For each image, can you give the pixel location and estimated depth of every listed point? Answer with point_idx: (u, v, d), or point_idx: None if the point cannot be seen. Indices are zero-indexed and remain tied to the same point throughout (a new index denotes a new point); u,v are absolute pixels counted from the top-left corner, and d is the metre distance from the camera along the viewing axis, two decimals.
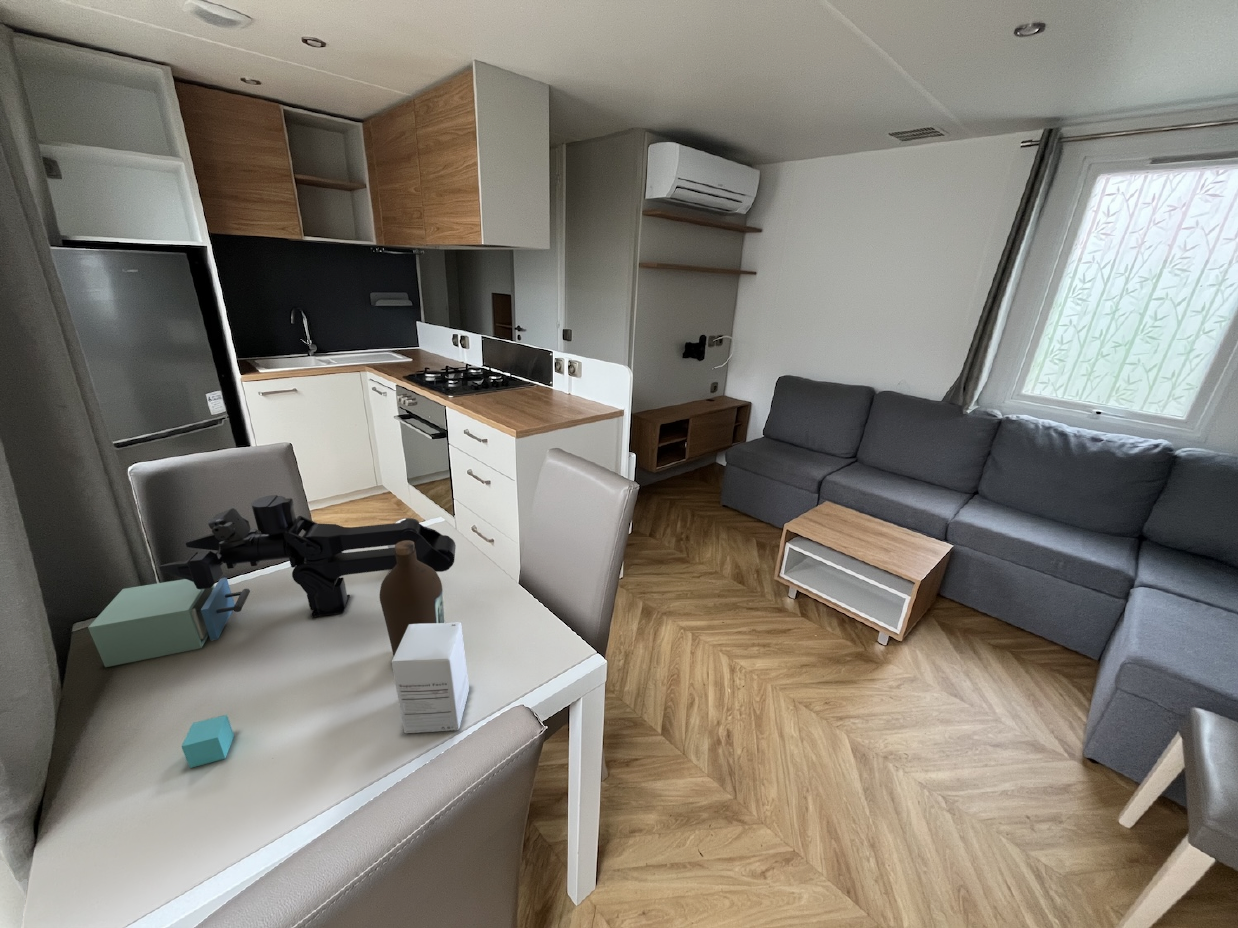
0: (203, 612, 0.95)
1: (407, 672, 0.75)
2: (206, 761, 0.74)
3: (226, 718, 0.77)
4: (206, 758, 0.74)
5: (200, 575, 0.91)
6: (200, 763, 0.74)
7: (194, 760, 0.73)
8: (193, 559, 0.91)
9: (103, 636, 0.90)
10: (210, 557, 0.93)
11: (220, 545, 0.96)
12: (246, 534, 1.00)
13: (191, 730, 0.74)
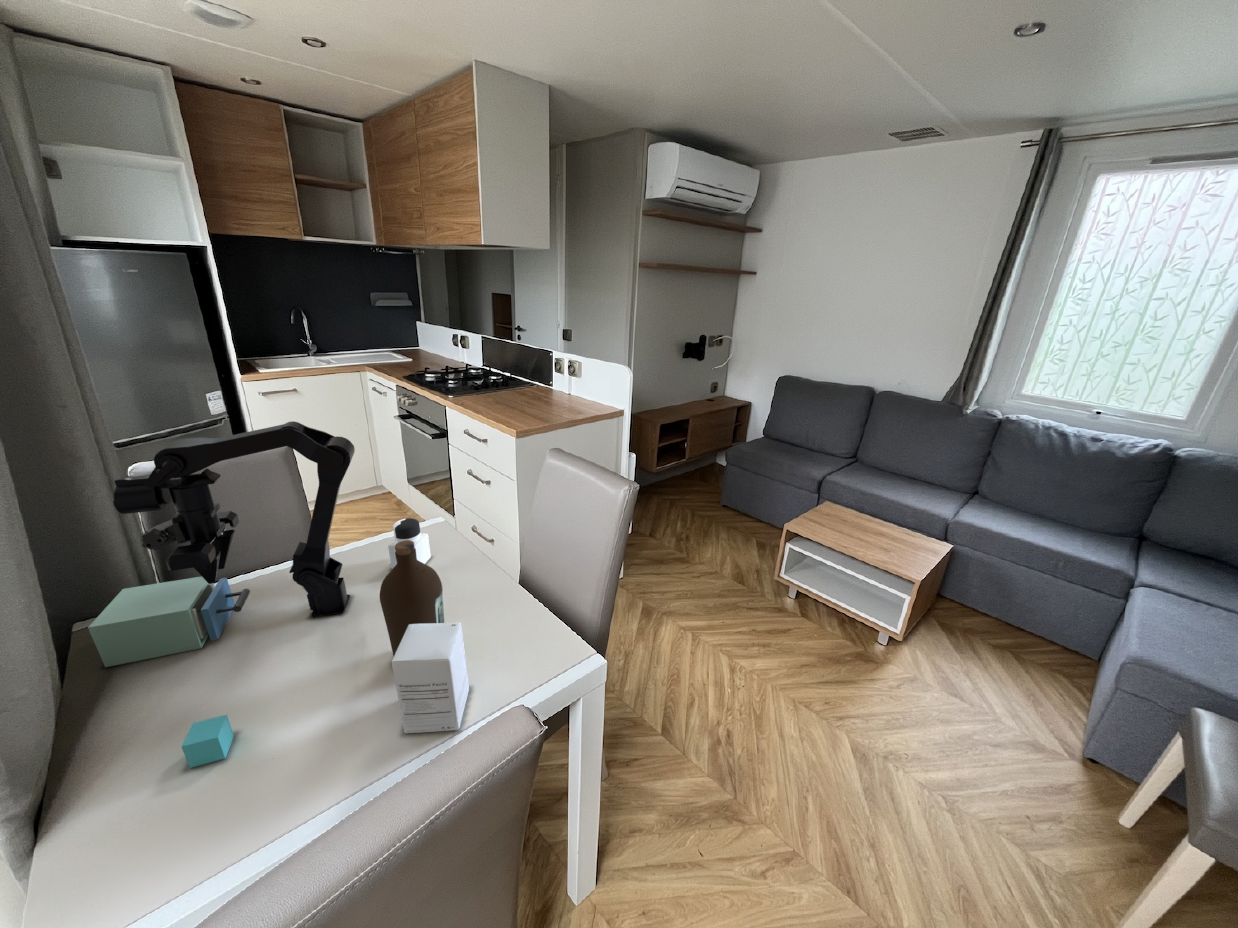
0: (203, 612, 0.95)
1: (407, 672, 0.75)
2: (206, 761, 0.74)
3: (226, 718, 0.77)
4: (206, 758, 0.74)
5: (185, 562, 0.88)
6: (200, 763, 0.74)
7: (194, 760, 0.73)
8: None
9: (103, 636, 0.90)
10: None
11: (180, 542, 0.92)
12: None
13: (191, 730, 0.74)
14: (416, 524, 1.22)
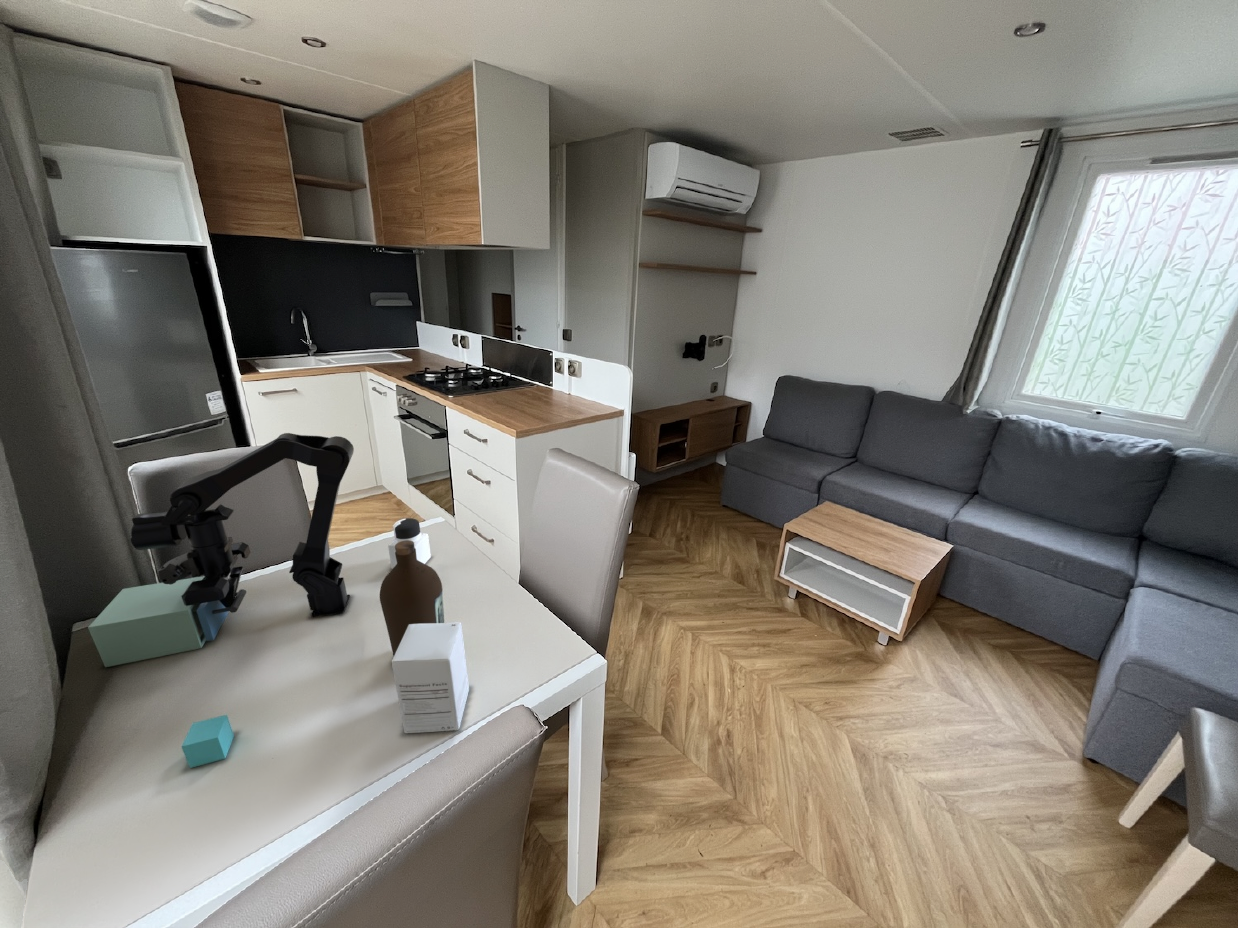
0: (198, 613, 0.95)
1: (407, 672, 0.75)
2: (206, 761, 0.74)
3: (226, 718, 0.77)
4: (206, 758, 0.74)
5: (200, 597, 0.91)
6: (200, 763, 0.74)
7: (194, 760, 0.73)
8: None
9: (103, 636, 0.90)
10: (188, 587, 0.92)
11: (195, 576, 0.95)
12: None
13: (191, 730, 0.74)
14: (416, 524, 1.22)
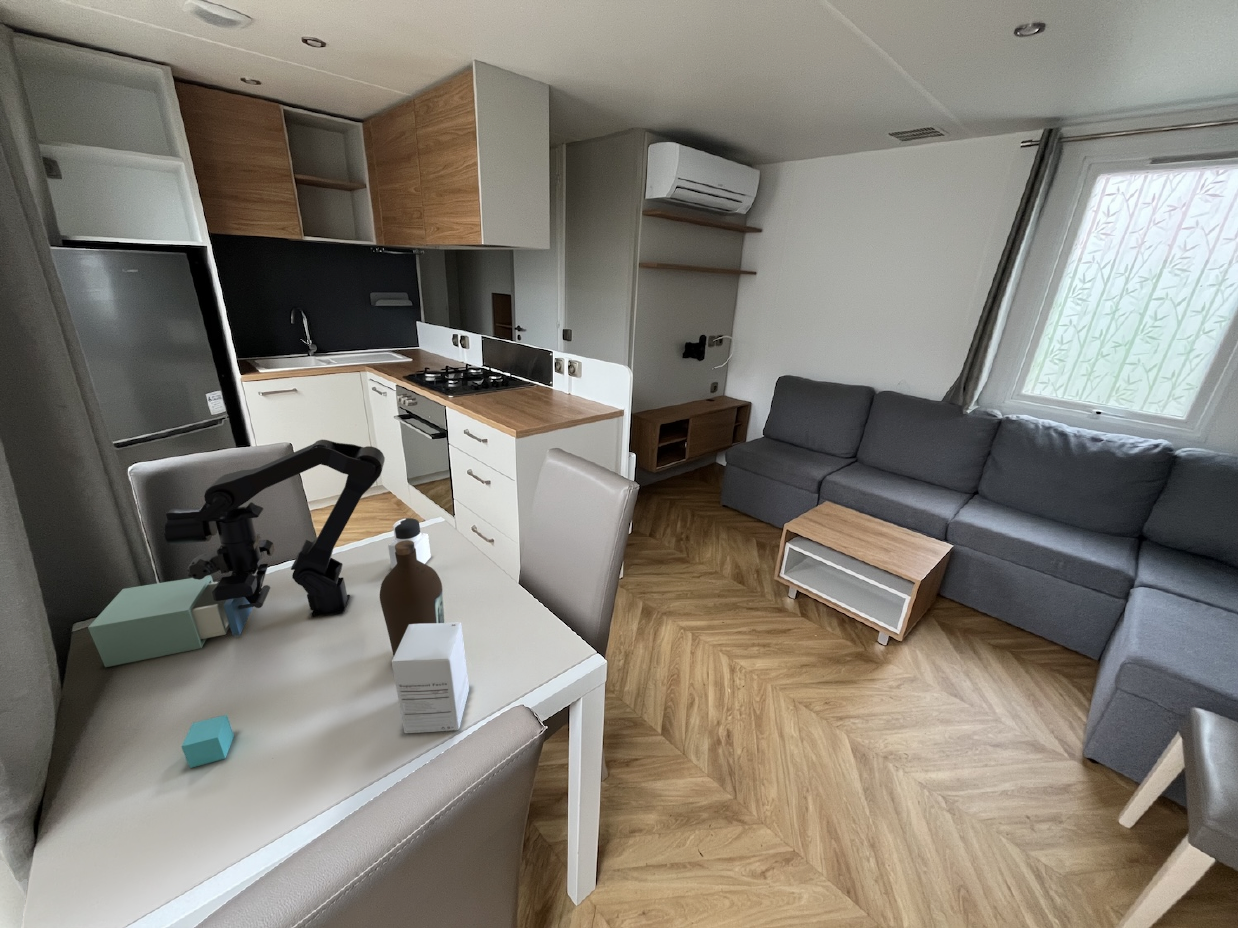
0: (226, 608, 0.97)
1: (407, 672, 0.75)
2: (206, 761, 0.74)
3: (226, 718, 0.77)
4: (206, 758, 0.74)
5: (230, 593, 0.93)
6: (200, 763, 0.74)
7: (194, 760, 0.73)
8: None
9: (103, 636, 0.90)
10: (217, 583, 0.93)
11: (223, 572, 0.97)
12: None
13: (191, 730, 0.74)
14: (416, 524, 1.22)
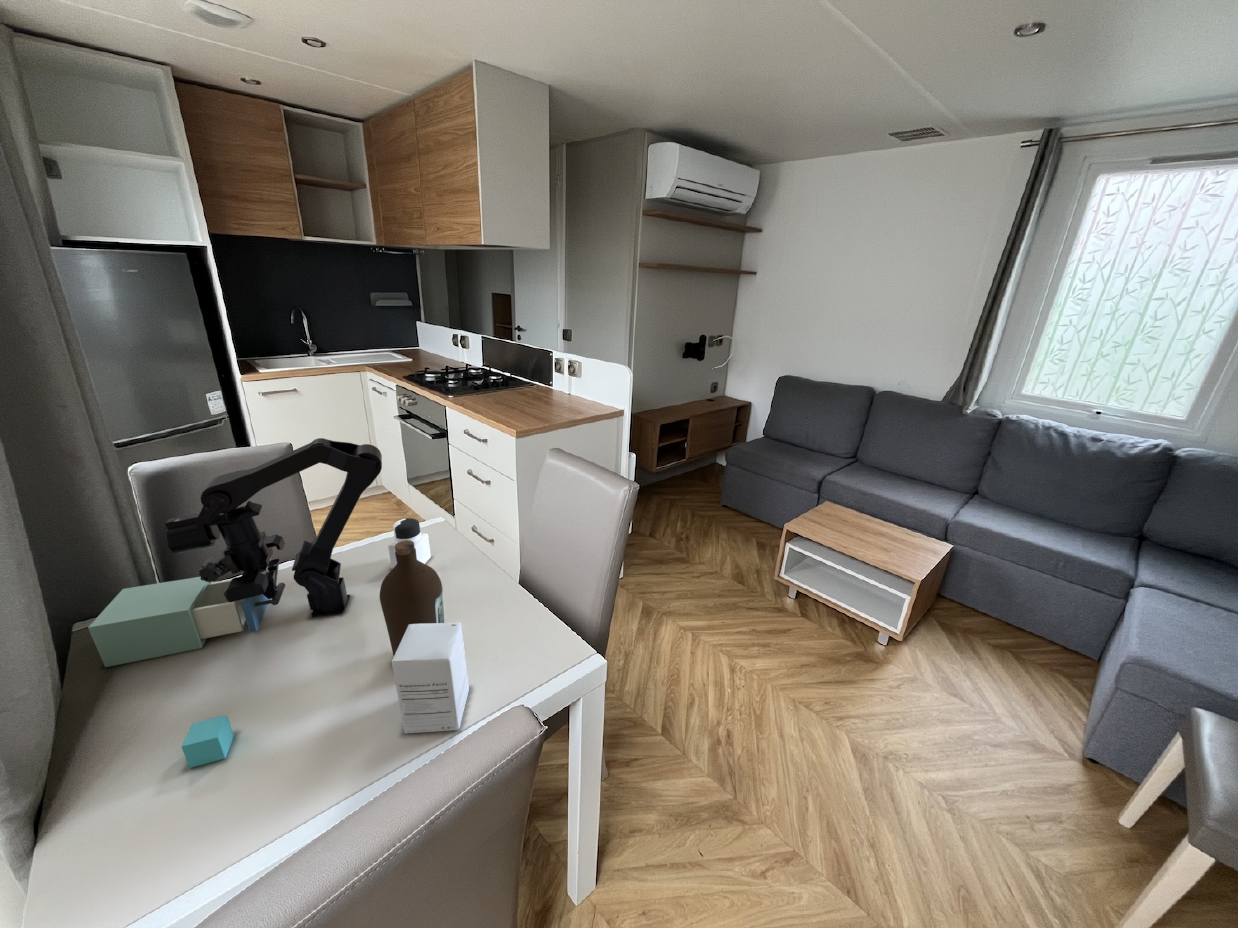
0: (243, 605, 0.98)
1: (407, 672, 0.75)
2: (206, 761, 0.74)
3: (226, 718, 0.77)
4: (206, 758, 0.74)
5: (241, 593, 0.93)
6: (200, 763, 0.74)
7: (194, 760, 0.73)
8: None
9: (103, 636, 0.90)
10: None
11: (234, 572, 0.97)
12: None
13: (191, 730, 0.74)
14: (416, 524, 1.22)
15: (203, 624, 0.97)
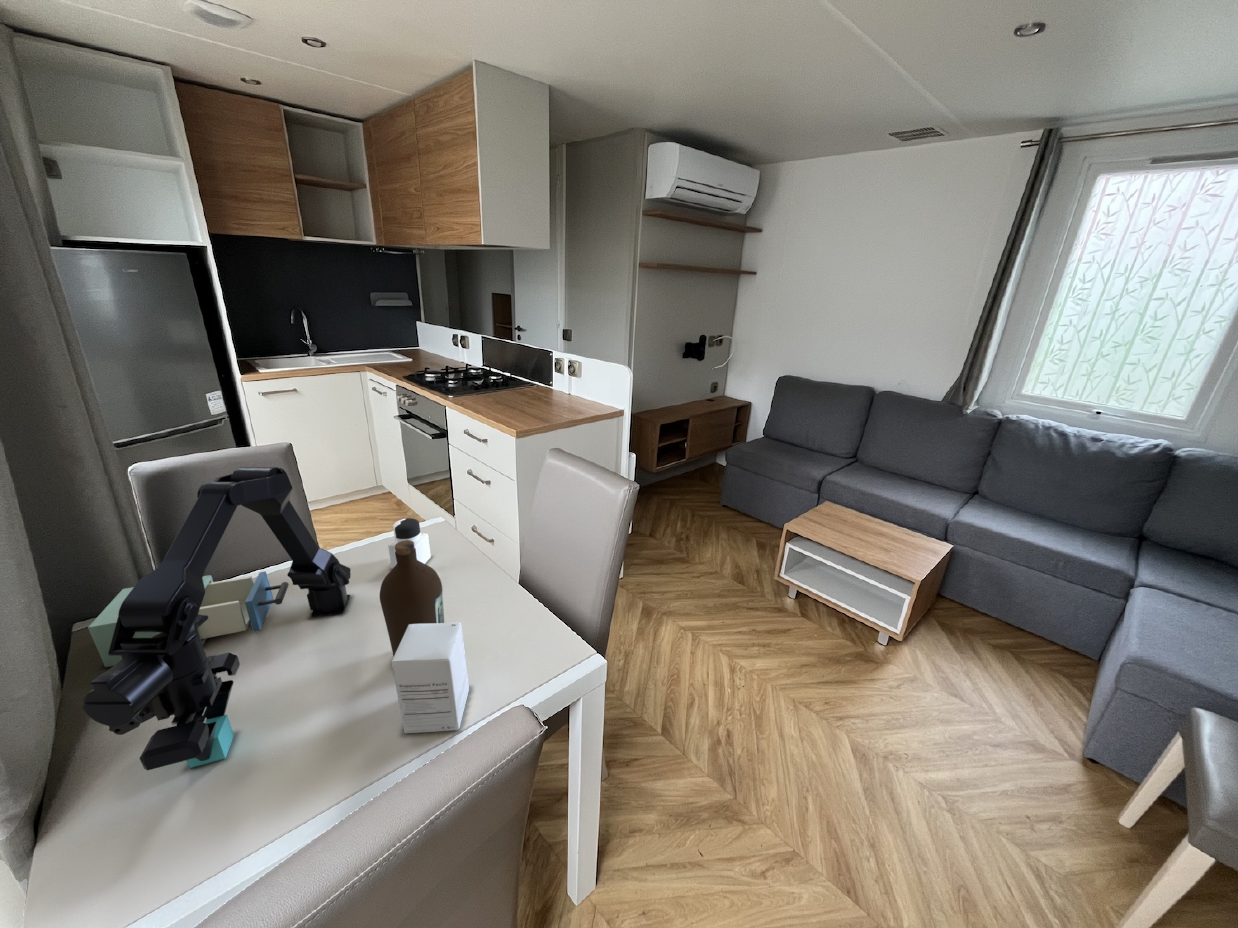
0: (247, 604, 0.98)
1: (407, 672, 0.75)
2: (206, 761, 0.74)
3: (226, 718, 0.77)
4: None
5: (167, 757, 0.65)
6: (200, 763, 0.74)
7: (194, 760, 0.73)
8: None
9: (103, 636, 0.90)
10: (149, 742, 0.65)
11: (161, 718, 0.69)
12: None
13: None
14: (416, 524, 1.22)
15: (207, 623, 0.97)
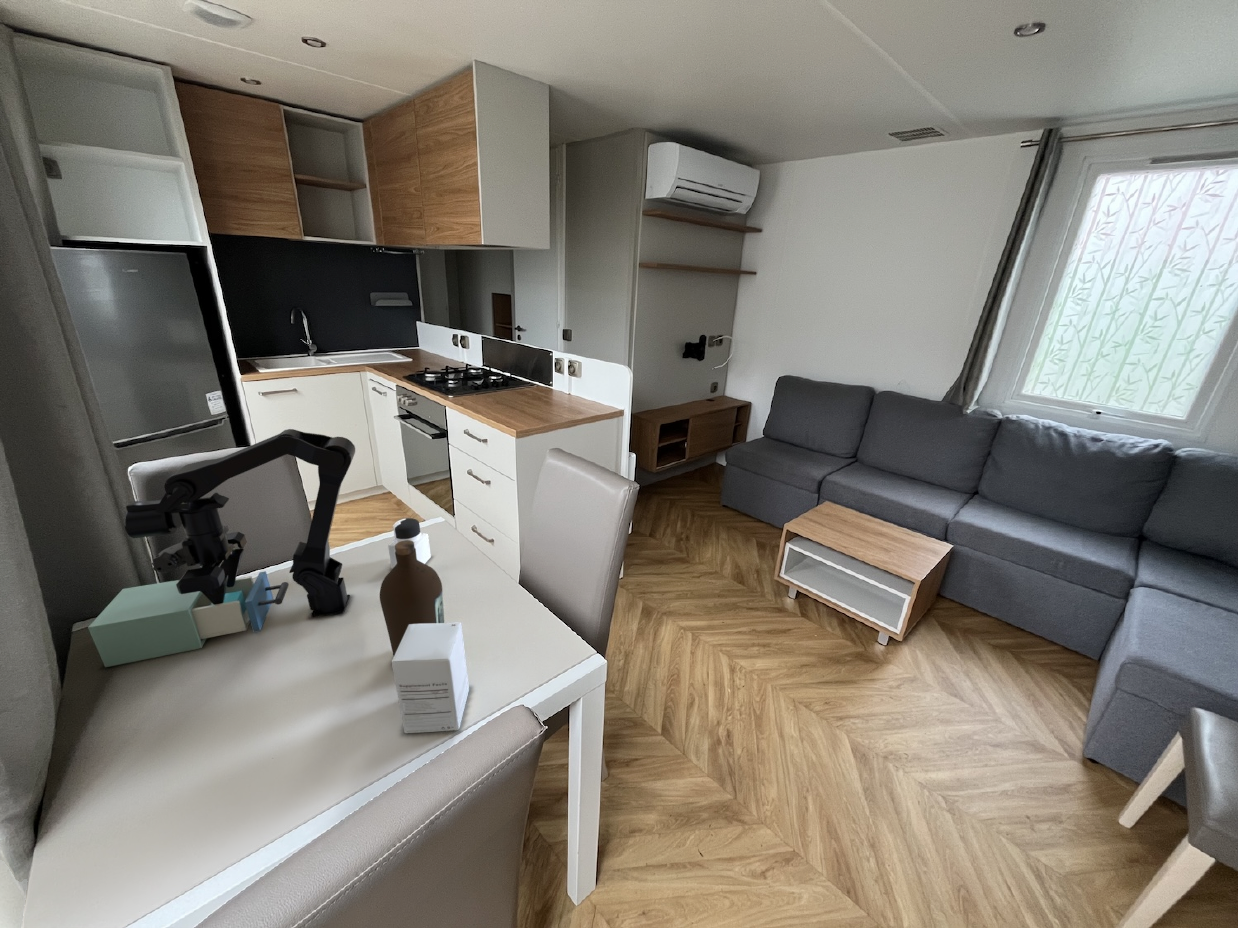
0: (247, 604, 0.98)
1: (407, 672, 0.75)
2: None
3: (241, 593, 1.04)
4: None
5: (195, 585, 0.90)
6: None
7: None
8: None
9: (103, 636, 0.90)
10: (182, 576, 0.91)
11: (190, 565, 0.94)
12: None
13: None
14: (416, 524, 1.22)
15: (207, 623, 0.97)
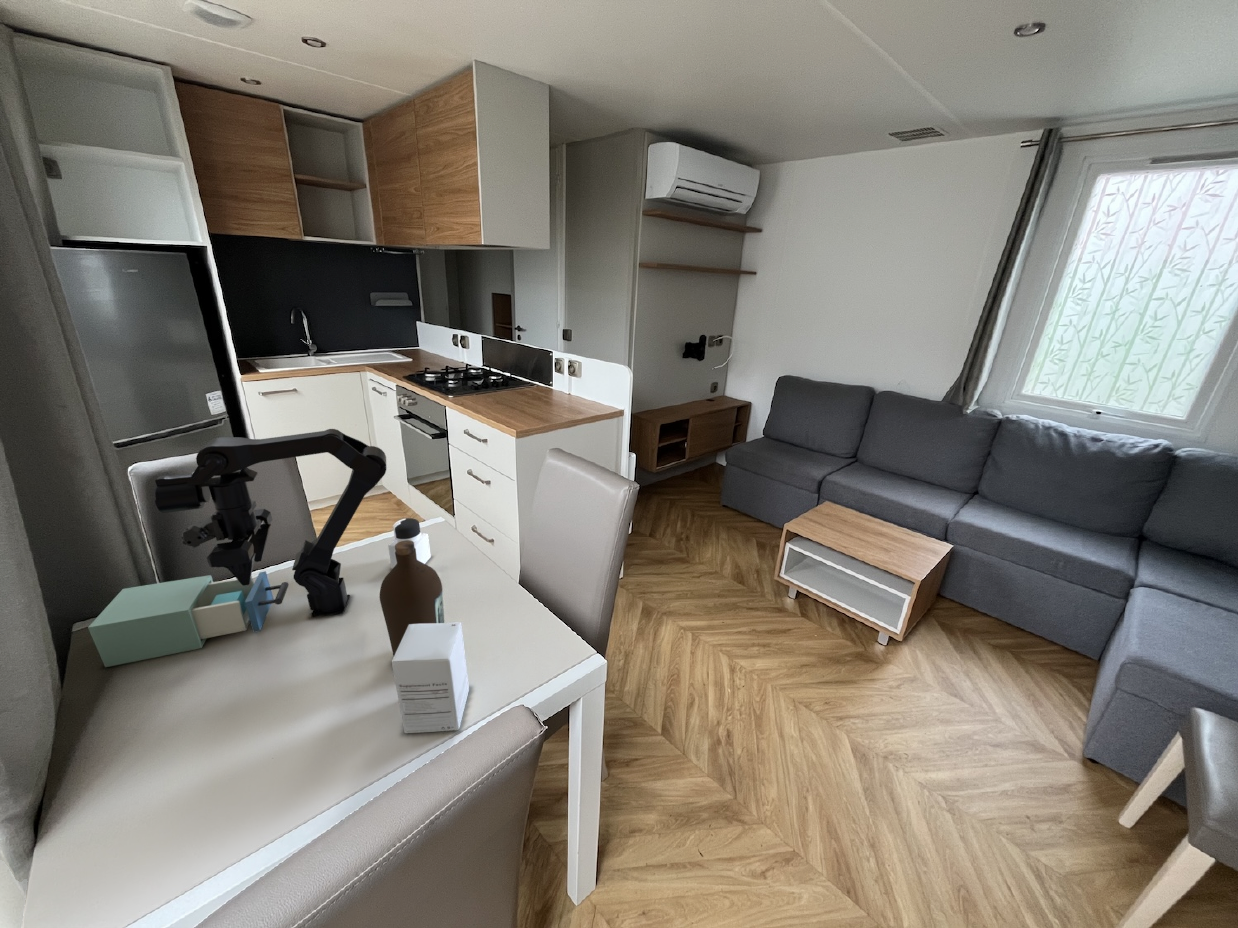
0: (247, 604, 0.98)
1: (407, 672, 0.75)
2: None
3: (241, 593, 1.04)
4: None
5: (226, 559, 0.89)
6: None
7: None
8: None
9: (103, 636, 0.90)
10: (213, 549, 0.90)
11: (219, 539, 0.94)
12: None
13: (215, 599, 1.01)
14: (416, 524, 1.22)
15: (207, 623, 0.97)
